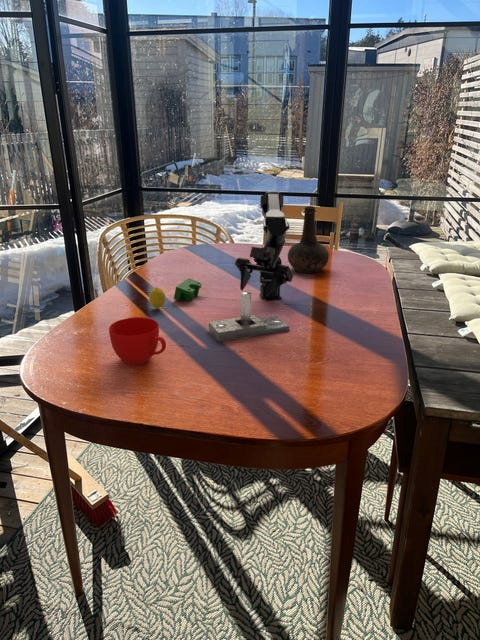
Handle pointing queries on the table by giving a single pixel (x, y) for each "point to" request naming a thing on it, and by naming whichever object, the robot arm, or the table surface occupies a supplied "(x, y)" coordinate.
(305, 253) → the glass bottle
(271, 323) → the plate
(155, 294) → the lemon
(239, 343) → the table surface
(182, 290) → the clamp
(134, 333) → the ceramic cup
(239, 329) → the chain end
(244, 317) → the steel pin
